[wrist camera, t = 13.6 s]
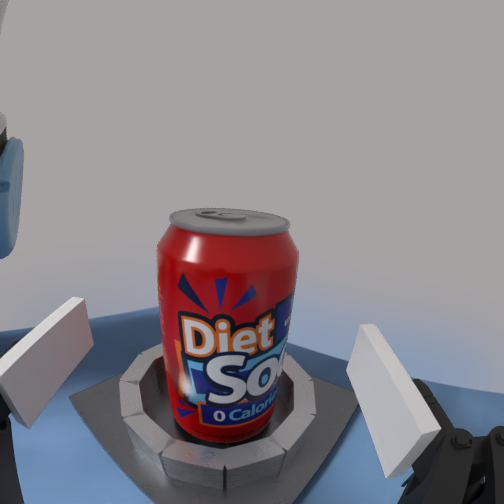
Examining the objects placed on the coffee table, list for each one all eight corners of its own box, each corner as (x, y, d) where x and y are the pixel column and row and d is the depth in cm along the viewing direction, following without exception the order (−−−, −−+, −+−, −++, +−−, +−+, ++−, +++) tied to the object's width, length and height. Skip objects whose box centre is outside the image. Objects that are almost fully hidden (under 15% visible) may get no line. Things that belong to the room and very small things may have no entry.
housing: (72, 404, 17) (57, 370, 16) (211, 335, 31) (212, 305, 30) (235, 562, 7) (237, 555, 6) (359, 402, 21) (372, 370, 20)
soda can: (204, 369, 24) (206, 202, 20) (285, 396, 21) (315, 216, 17) (151, 420, 17) (125, 216, 13) (248, 465, 14) (277, 240, 10)
